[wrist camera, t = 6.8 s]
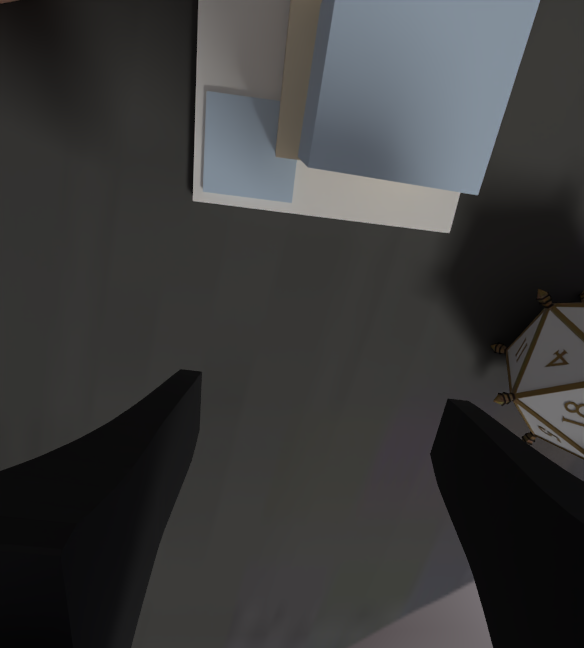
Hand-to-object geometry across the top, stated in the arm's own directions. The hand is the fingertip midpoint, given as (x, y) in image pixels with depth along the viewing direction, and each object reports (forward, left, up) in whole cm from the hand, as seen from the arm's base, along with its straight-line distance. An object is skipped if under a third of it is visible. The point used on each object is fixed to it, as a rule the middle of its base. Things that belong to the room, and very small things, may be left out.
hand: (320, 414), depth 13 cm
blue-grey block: (+1, +9, -6) cm, 11 cm away
